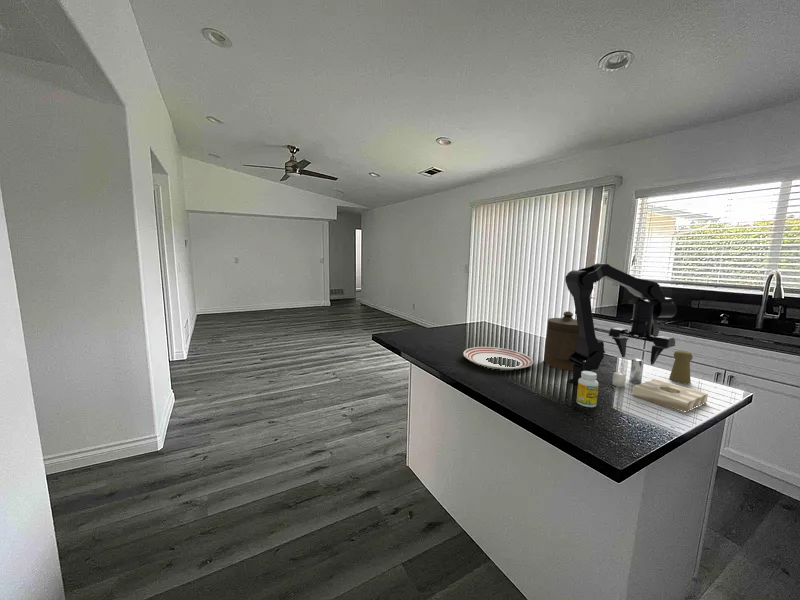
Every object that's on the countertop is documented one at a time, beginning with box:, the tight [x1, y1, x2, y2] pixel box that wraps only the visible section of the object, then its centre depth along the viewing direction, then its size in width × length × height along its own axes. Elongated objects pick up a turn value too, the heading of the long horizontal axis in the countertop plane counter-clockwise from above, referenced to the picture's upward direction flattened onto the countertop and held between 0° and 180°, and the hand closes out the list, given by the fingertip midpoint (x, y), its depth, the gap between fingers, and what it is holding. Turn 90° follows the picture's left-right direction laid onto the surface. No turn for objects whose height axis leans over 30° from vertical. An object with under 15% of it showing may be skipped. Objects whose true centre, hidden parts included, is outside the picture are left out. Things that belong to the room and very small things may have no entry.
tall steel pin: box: [629, 358, 645, 385], centre depth 121 cm, size 4×4×8 cm
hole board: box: [632, 378, 709, 412], centre depth 107 cm, size 14×14×3 cm
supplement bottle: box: [576, 371, 599, 408], centre depth 101 cm, size 5×5×10 cm
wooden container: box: [543, 311, 585, 371], centre depth 138 cm, size 15×15×22 cm
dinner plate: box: [462, 346, 534, 371], centre depth 140 cm, size 27×27×3 cm
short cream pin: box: [611, 371, 626, 388], centre depth 118 cm, size 4×4×4 cm
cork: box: [668, 349, 693, 385], centre depth 123 cm, size 6×6×11 cm
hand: (637, 360), depth 120 cm, fingers open, 9 cm apart
